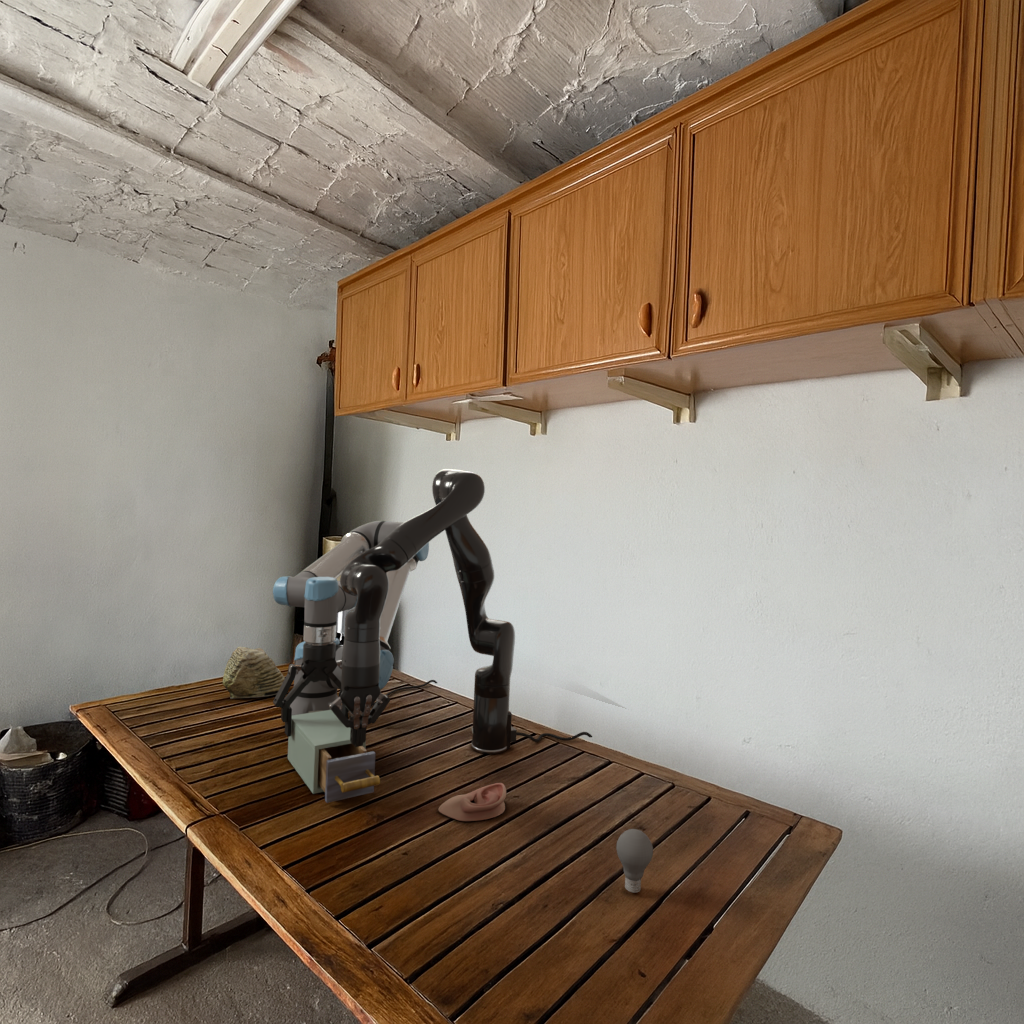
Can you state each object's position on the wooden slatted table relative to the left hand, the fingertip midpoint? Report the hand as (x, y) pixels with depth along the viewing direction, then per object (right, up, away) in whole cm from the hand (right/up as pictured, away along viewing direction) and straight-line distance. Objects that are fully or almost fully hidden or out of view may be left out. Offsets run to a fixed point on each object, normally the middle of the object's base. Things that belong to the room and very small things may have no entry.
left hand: (316, 729), depth 152 cm
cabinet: (+4, -7, -6) cm, 10 cm away
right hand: (+16, +5, -23) cm, 28 cm away
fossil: (-34, -5, +46) cm, 57 cm away
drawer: (+10, -7, -15) cm, 19 cm away
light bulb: (+67, -11, -47) cm, 83 cm away
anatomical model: (+39, -9, -21) cm, 45 cm away
